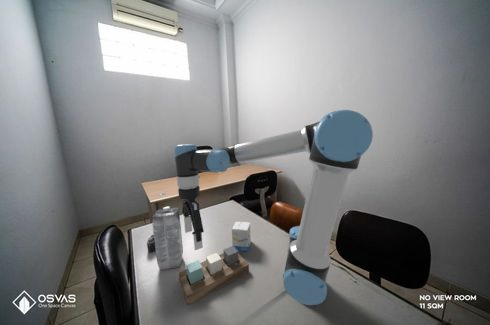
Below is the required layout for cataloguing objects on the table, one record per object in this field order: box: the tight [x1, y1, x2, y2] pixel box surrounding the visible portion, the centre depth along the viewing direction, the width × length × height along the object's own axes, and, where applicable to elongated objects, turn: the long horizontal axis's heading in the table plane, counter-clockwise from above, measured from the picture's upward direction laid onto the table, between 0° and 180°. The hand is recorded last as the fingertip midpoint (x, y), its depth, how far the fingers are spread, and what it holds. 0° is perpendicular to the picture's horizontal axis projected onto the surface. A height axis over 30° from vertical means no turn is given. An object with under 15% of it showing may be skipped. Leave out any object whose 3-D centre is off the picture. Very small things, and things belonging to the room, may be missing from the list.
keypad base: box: [178, 252, 250, 305], centre depth 73 cm, size 13×26×4 cm, turn 123°
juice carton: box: [151, 206, 184, 271], centre depth 79 cm, size 9×10×27 cm
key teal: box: [186, 259, 203, 285], centre depth 68 cm, size 5×5×5 cm
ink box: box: [231, 221, 252, 252], centre depth 91 cm, size 9×8×12 cm
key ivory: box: [205, 252, 222, 276], centre depth 72 cm, size 5×5×5 cm
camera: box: [146, 233, 156, 254], centre depth 94 cm, size 16×8×10 cm, turn 161°
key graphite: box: [223, 245, 239, 267], centre depth 76 cm, size 5×5×5 cm
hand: (193, 239), depth 67 cm, fingers open, 13 cm apart
